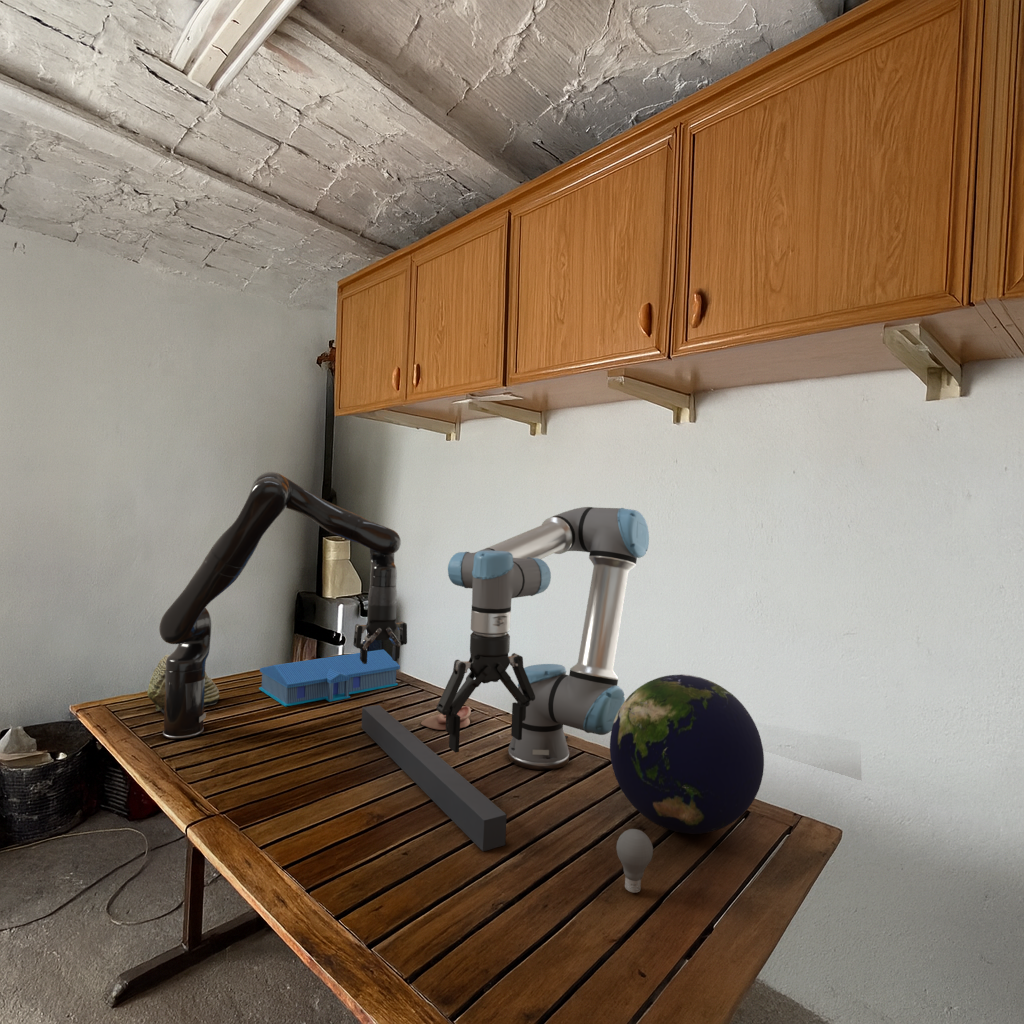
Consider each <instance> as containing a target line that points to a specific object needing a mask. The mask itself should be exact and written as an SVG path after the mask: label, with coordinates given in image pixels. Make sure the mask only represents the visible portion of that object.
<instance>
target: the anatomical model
mask: <svg viewBox="0 0 1024 1024" xmlns="http://www.w3.org/2000/svg"><path fill="white" fill-rule="evenodd" d="M471 713H472V710H471V707H470V706H468V705H465V706H464V705H463V706H462V708H461V709H460V711H459V712H458V713H457V715H458V716H460V729H462V728H466V727H468V726H469V725H470V724H471V721H470V717H471ZM420 724H421V725H422V726H423V727H426V728H429V729H432V730H439V731H446V715H443V714H441V713H439V714H436V715H432V716H429V717H427V718H425V719H423V720H422V721H421V722H420Z"/></svg>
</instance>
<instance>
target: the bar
mask: <svg viewBox="0 0 1024 1024" xmlns="http://www.w3.org/2000/svg"><path fill="white" fill-rule="evenodd" d="M361 729H362V730H363V731H364V733H366V734H367V736H369V737H370V738H371V739H372V740H373V742H375V744H376V745H378V746H379V747H380V749H382V751H384V753H385V754H386V755H387V756H388V757H389V758H390V759H391V760H392V761H393V762H394V763H395V764H396V765H397V766H398V767H399V768H400V769H401V770H402V771H403V772H404V773H405V774H406V775H407V776H408V777H409V778H410V779H411V780H412V781H413V782H414V784H416V786H418V787H419V788H420V789H421V790H422V791H423V793H425V794H426V795H427V797H429V798H430V799H431V801H433V803H435V805H437V807H438V808H440V810H441V811H443V813H444V814H445V815H446V816H447V817H448V818H449V819H450V820H451V821H452V823H454V824H455V825H456V826H457V827H458V828H459V829H460V830H461V831H462V832H463V833H464V834H465V836H467V837H468V838H469V839H470V840H471V841H472V842H473V843H474V844H475V845H476V846H477V848H478V849H479V850H481V851H482V852H487V851H490V850H493V849H497V848H500V847H503V846H506V841H507V840H506V837H507V814H506V812H504V811H503V810H502V809H501V808H500V807H499V806H498V805H496V804H495V803H494V802H493V801H492V800H491V799H489V798H488V797H487V796H486V795H485V794H483V793H482V792H481V791H480V790H479V789H477V788H476V787H475V786H474V785H473V784H471V782H469V781H468V780H467V779H466V778H465V777H464V776H462V775H461V774H460V773H459V772H458V771H457V770H456V769H454V768H453V767H452V766H451V765H450V764H448V762H446V761H445V760H444V759H443V758H442V757H441V756H439V755H438V754H437V753H436V752H434V750H432V748H430V747H429V746H427V745H426V743H424V742H423V741H422V740H420V739H419V737H417V736H416V735H415V734H414V733H413V732H411V730H409V729H408V728H407V727H406V726H405V725H403V724H402V723H401V722H400V721H399V720H398V719H396V718H395V717H394V716H393V715H392V714H390V713H389V712H388V711H387V710H386V709H385V708H383V707H382V705H380V704H377V705H376V704H375V705H367V706H362V707H361Z"/></svg>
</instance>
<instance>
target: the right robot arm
mask: <svg viewBox="0 0 1024 1024" xmlns="http://www.w3.org/2000/svg"><path fill="white" fill-rule="evenodd" d="M649 546H650V531H649V526H648V524H647V521H646V518H645V517H644V515H643V513H641V512H640V511H638V510H636V509H632V508H631V509H629V508H624V507H595V506H582V507H577V508H573V509H570V510H567V511H564V512H561V513H558V514H555V515H553V516H550V517H547V518H546V519H544V520H543V522H542V524H541V525H539V526H537V527H534V528H531V529H529V530H527V531H524V532H522V533H520V534H517V535H515V536H512V537H510V538H507V539H505V540H503V541H500V542H498V543H495V544H492V545H490V546H488V547H486V548H483V549H480V550H477V551H475V552H470V551H458V552H456V553H455V554H453V555H452V557H451V558H450V560H449V562H448V565H447V576H448V579H449V580H450V582H451V583H452V584H453V585H455V586H457V587H461V588H464V589H472V591H471V593H472V594H471V596H472V597H471V611H470V612H471V613H470V630H471V631H472V632H471V633H470V636H469V637H470V638H469V653H470V656H469V657H470V658H469V660H468V661H467V660H464V661H463V660H460V659H455V660H454V662H453V667H452V668H453V669H452V673H451V675H450V677H449V679H448V682H447V684H446V685H445V688H444V689H443V692H442V694H441V697H440V698H439V701H438V703H437V705H436V708H435V709H436V711H437V712H438V713H439V714H443V715H446V730H445V732H446V733H448V734H449V735H448V748H449V749H450V750H451V751H452V752H454V753H455V754H456V753H460V738H461V737H460V736H461V735H460V734H461V733H460V732H461V728H460V716H458V715H457V713H458V712H459V711H460V709H461V708H462V707H464V705H465V704H466V703H467V701H468V700H469V698H470V697H471V696H472V695H473V692H474V691H475V690H476V688H479V687H480V685H481V684H489V683H491V682H493V683H498V682H499V681H500V682H501V683H502V685H504V687H505V688H506V689H507V691H508V692H509V694H510V695H511V696H512V698H514V700H515V702H512V704H511V727H510V728H511V729H510V731H511V732H510V736H511V740H510V743H509V745H508V750H507V758H508V760H509V761H510V762H511V763H512V764H514V765H516V766H518V767H521V768H525V769H529V770H536V771H549V770H555V769H560V768H562V767H565V766H566V765H567V764H568V763H569V761H570V750H569V746H568V743H567V739H569V737H568V735H565V732H564V726H566V727H569V728H574V729H576V730H581V731H584V732H585V733H586V734H594V735H599V736H605V735H608V734H609V733H611V731H612V726H613V722H614V720H615V717H616V715H617V713H618V711H619V709H620V707H621V706H622V704H623V703H624V702H625V700H626V698H625V692H624V690H623V689H622V688H621V687H620V686H619V685H618V683H619V677H618V675H617V674H616V673H615V671H614V667H615V661H616V655H617V647H618V641H619V634H620V629H621V621H622V615H623V609H624V605H625V604H624V602H625V598H626V597H625V596H626V590H627V583H628V578H629V572H630V571H631V570H632V569H634V568H635V567H637V561H638V559H640V558H643V557H644V556H646V555H647V551H648V549H649ZM566 552H567V553H568V552H582V553H589V555H588V559H589V560H590V562H591V564H592V565H593V569H592V575H591V580H590V586H589V591H588V592H589V593H588V598H587V605H586V610H585V617H584V622H583V627H582V628H583V629H582V634H581V640H580V646H579V652H578V658H577V662H576V663H575V664H574V665H573V666H572V667H570V669H569V674H566V673H567V670H566V667H565V665H563V664H558V663H539V664H532V665H528V666H525V667H524V658H523V656H522V655H520V654H518V653H516V652H513V653H512V654H511V655H510V656H509V653H510V650H511V649H510V645H511V644H510V643H511V635H510V634H509V632H511V617H512V615H511V613H512V599H516V598H517V599H518V598H523V597H529V596H530V597H533V596H536V595H538V594H542V593H544V592H545V591H546V590H547V589H548V588H549V586H550V584H551V579H552V573H551V569H550V567H549V565H548V564H547V562H545V561H544V560H543V559H545V558H546V557H549V556H551V555H553V554H554V555H562V554H564V553H566ZM509 666H510V667H511V668H512V670H513V673H514V675H515V678H516V681H517V682H518V683H517V685H516V683H515V682H514V681H513V679H512V677H511V676H510V674H509V673H508V672H507V669H508V668H509ZM468 670H469V671H470V672H469V673H468ZM467 673H468V674H467ZM465 674H467V676H466V677H465ZM464 678H465V681H464V682H463V680H464ZM462 683H463V684H462Z"/></svg>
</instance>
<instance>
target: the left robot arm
mask: <svg viewBox="0 0 1024 1024" xmlns="http://www.w3.org/2000/svg"><path fill="white" fill-rule="evenodd" d="M285 509H288V510H291V511H294V512H296V513H298V514H300V515H303V516H305V517H306V518H308V519H309V520H310V521H312V522H313V523H315V524H316V525H318V526H319V527H321V529H322V528H323V529H324V530H325V531H327V532H329V533H330V534H333V535H335V536H338V537H340V538H343V539H345V540H347V541H350V542H353V543H357V544H359V545H361V546H364V547H365V548H368V549H369V560H370V573H369V574H370V576H369V589H368V597H367V620H366V621H367V622H366V624H359V623H356V624H355V625H354V632H353V633H354V635H353V643H352V645H353V647H355V648H356V649H359V653H360V661H362V663H363V664H367V652H369V650H368V648H369V647H370V645H372V644H373V642H374V641H377V642H378V641H381V640H382V641H383V640H384V641H387V640H390V641H391V643H392V644H393V646H392V650H391V651H392V652H391V657H392V660H393V661H396V662H397V661H398V659H400V654H401V653H400V652H401V646H403V645H407V644H408V624H407V623H406V622H404V621H402V620H401V621H399V622H397V621H396V619H397V605H398V603H397V602H398V601H397V600H398V591H397V590H398V589H397V583H398V581H397V580H398V569H397V566H396V563H395V553H397V552H398V551H399V549H400V548H401V546H402V545H401V544H402V540H401V537H400V534H398V532H397V531H396V530H394V529H392V528H390V527H386V526H384V525H382V524H379V523H376V522H373V521H370V520H368V519H367V518H365V517H363V516H361V515H359V514H357V513H355V512H352V511H350V510H347V509H345V508H343V507H340V506H338V505H336V504H334V503H332V502H330V501H327V500H325V499H324V498H321V497H319V496H318V495H316V494H314V493H312V492H310V491H308V490H306V489H305V488H304V487H302V486H300V485H298V484H297V483H295V482H294V481H293V480H291V479H289V478H288V477H286V476H285V475H282V474H281V473H278V472H275V471H266V472H263V473H261V474H259V475H258V476H257V477H256V478H255V479H254V480H253V483H252V486H251V488H250V491H249V494H248V496H247V498H246V501H245V503H244V504H243V507H242V509H241V511H240V512H239V514H238V516H237V517H236V519H235V520H234V522H233V523H232V524H231V525H230V526H229V527H228V528H227V529H226V530H225V531H224V532H223V533H222V534H221V535H220V536H219V537H218V538H217V540H216V541H215V542H214V544H213V545H212V547H211V548H210V549H209V551H208V552H207V554H206V555H205V557H204V559H203V560H202V562H201V564H200V565H199V567H198V569H197V570H196V571H195V573H194V574H193V576H192V577H191V579H190V580H189V581H188V583H187V585H186V586H185V588H184V589H183V590H182V592H181V593H180V594H179V595H178V597H177V598H176V599H174V601H173V603H171V605H170V606H169V607H168V608H167V610H165V612H164V614H163V615H162V617H161V619H160V622H159V625H158V626H159V629H158V631H159V636H160V638H161V640H162V641H164V642H165V643H167V644H170V645H177V646H176V647H175V650H173V652H172V653H170V654H169V655H170V656H169V657H168V658H167V660H166V674H165V705H164V709H163V708H162V709H161V711H160V712H161V713H162V714H163V731H162V737H164V738H166V739H169V740H185V739H190V738H191V739H192V738H194V737H197V736H199V735H202V734H203V732H204V730H205V729H204V722H205V721H204V720H205V719H206V718H207V712H205V706H204V693H205V672H206V664H207V663H206V662H207V659H208V657H209V654H210V649H211V648H210V647H211V639H212V617H211V614H210V612H209V610H208V609H207V608H206V607H208V606H209V604H210V603H211V602H213V600H215V599H216V598H217V597H218V596H220V595H221V594H223V592H224V591H226V590H227V589H228V588H230V586H232V585H233V584H234V583H235V581H236V580H237V579H238V578H239V577H240V575H241V574H242V573H243V571H244V570H245V568H246V567H247V565H248V563H249V561H250V560H251V558H252V556H253V555H254V553H255V551H256V549H257V547H258V546H259V543H260V542H261V539H262V538H263V536H264V534H265V533H266V532H267V530H268V529H269V528H270V527H271V526H272V524H273V523H274V522H275V521H276V520H277V519H278V517H280V515H281V514H282V513H283V511H285ZM396 629H397V630H398V631H399V639H398V638H397V636H396V635H395V634H394V633H395V631H396ZM365 631H367V634H366V635H365V636H364V638H363V640H362V636H363V634H364V633H365Z"/></svg>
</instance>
